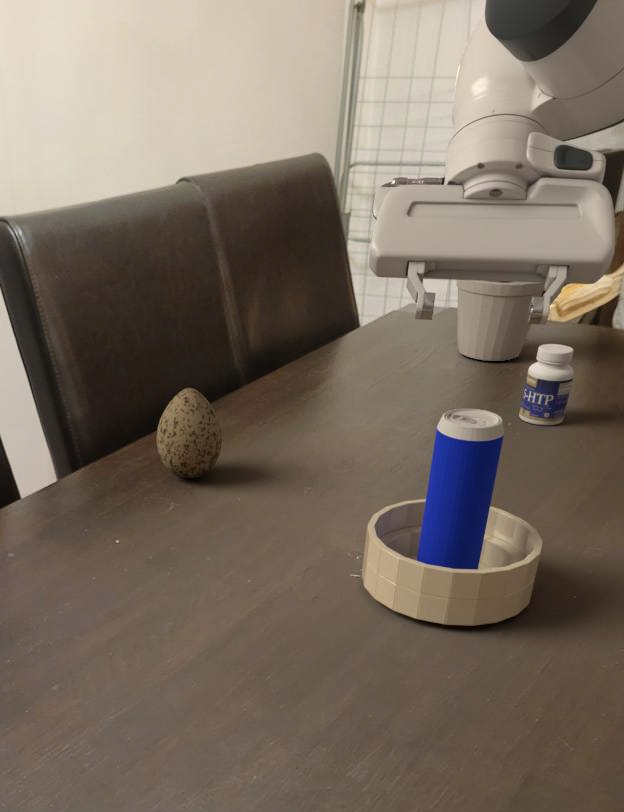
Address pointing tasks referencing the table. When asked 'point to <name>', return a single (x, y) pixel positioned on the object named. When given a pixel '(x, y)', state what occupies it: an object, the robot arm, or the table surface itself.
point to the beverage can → (460, 488)
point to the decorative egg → (189, 435)
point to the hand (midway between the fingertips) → (480, 318)
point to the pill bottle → (547, 386)
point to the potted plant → (494, 317)
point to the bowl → (450, 569)
